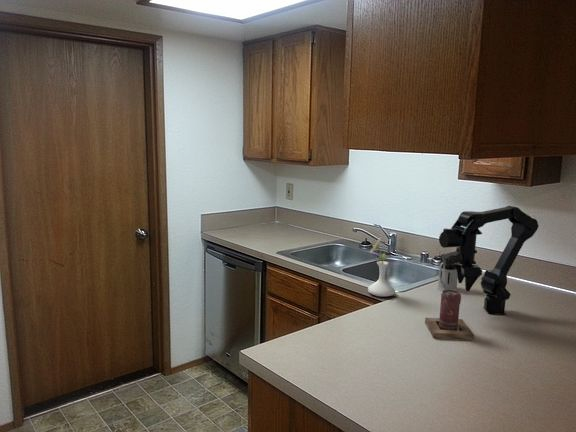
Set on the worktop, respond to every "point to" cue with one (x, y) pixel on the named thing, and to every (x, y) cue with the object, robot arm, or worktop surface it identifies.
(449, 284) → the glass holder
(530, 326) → the worktop surface
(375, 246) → the flower in vase
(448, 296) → the can
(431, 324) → the socket block
